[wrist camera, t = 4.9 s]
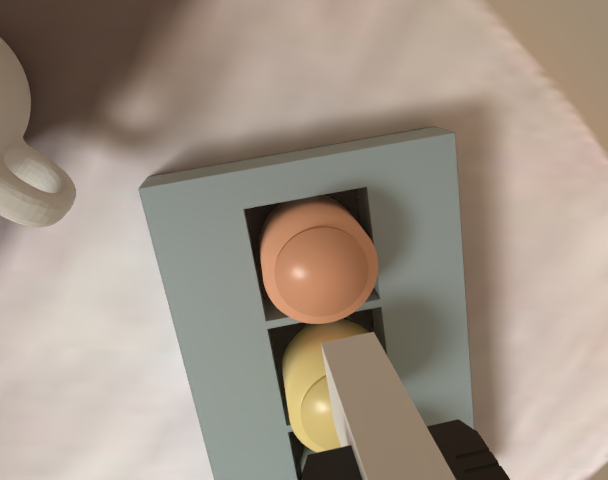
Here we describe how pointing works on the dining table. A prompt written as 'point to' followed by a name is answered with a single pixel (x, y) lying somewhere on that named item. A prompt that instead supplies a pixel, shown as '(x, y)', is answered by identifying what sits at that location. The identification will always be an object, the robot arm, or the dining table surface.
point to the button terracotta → (316, 260)
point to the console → (265, 315)
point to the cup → (26, 157)
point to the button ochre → (313, 383)
